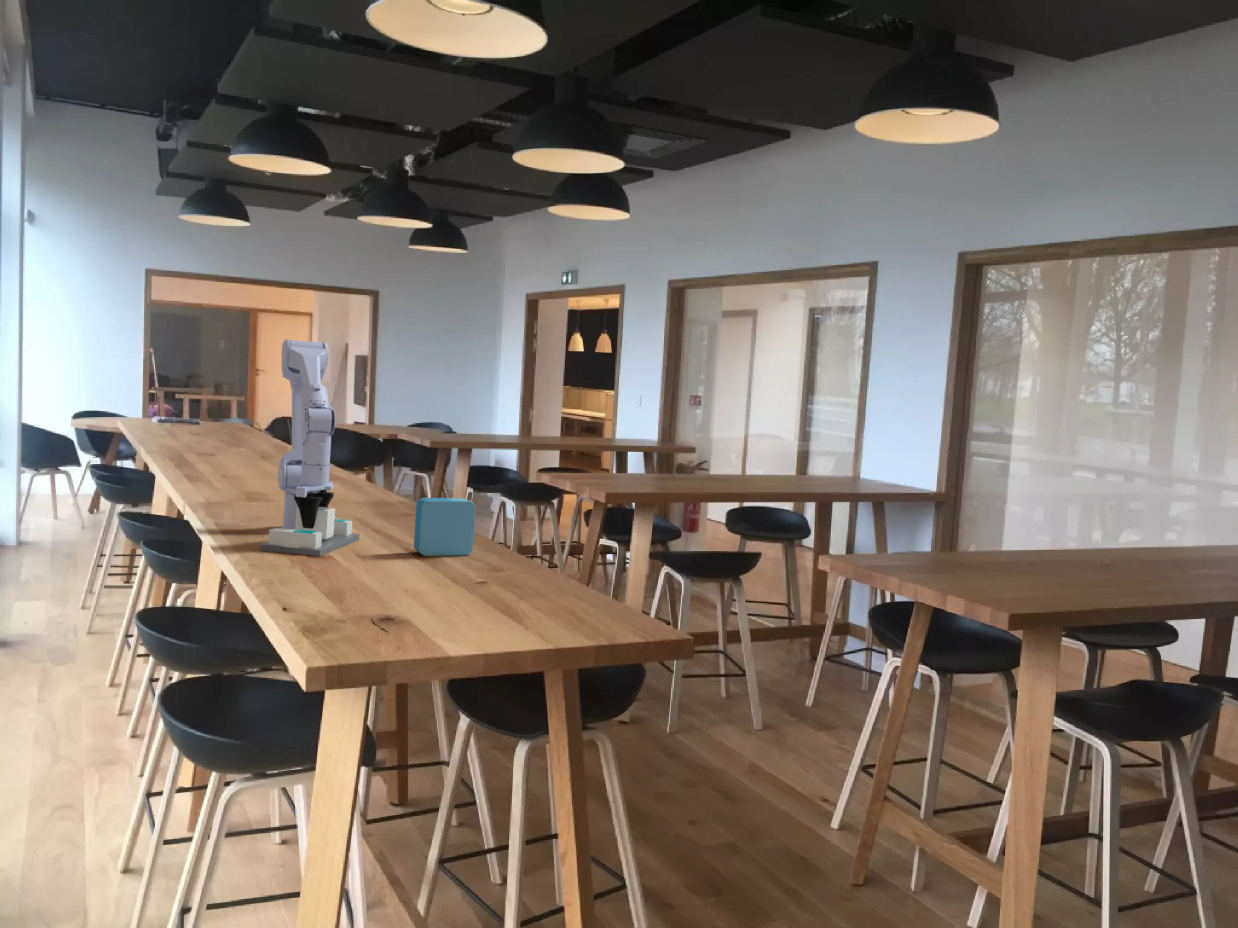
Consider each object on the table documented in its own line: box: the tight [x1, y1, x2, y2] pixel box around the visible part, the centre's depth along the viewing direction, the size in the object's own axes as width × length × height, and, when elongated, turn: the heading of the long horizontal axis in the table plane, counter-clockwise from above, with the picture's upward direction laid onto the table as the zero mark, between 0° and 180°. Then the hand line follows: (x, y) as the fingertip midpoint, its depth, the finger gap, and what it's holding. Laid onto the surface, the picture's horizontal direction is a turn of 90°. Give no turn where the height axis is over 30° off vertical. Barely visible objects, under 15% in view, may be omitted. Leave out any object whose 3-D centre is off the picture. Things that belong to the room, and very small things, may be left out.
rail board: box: [258, 518, 360, 557], centre depth 208 cm, size 22×13×4 cm, turn 175°
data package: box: [413, 497, 476, 557], centre depth 209 cm, size 12×4×12 cm, turn 118°
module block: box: [295, 507, 336, 539], centre depth 208 cm, size 4×7×6 cm, turn 85°
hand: (312, 526), depth 208 cm, fingers closed on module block, 4 cm apart
